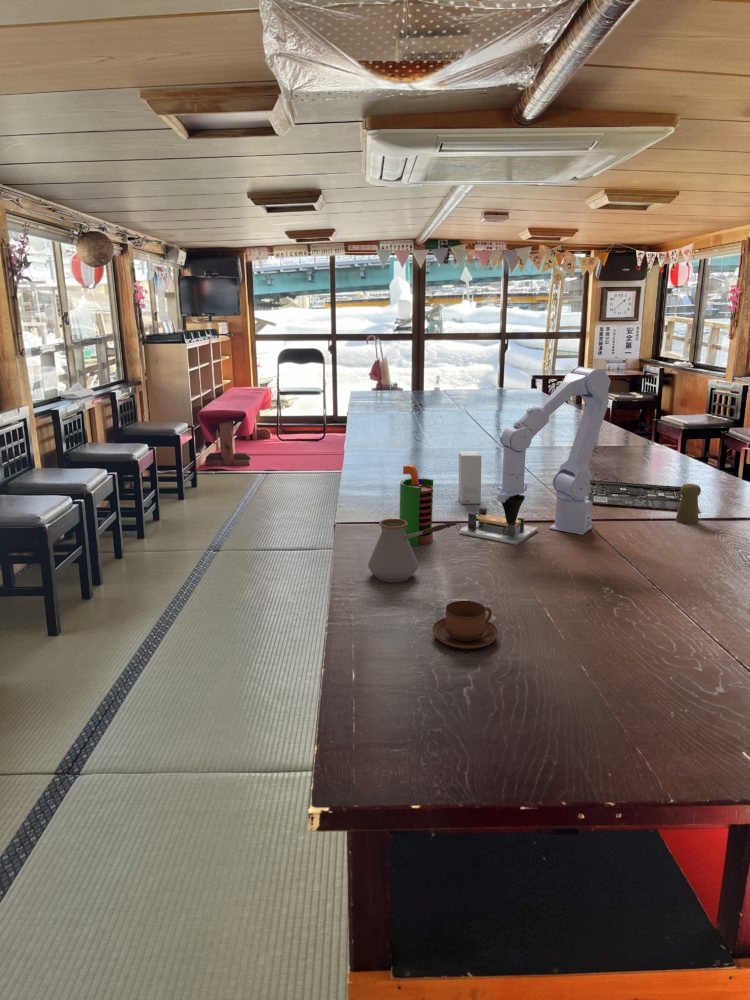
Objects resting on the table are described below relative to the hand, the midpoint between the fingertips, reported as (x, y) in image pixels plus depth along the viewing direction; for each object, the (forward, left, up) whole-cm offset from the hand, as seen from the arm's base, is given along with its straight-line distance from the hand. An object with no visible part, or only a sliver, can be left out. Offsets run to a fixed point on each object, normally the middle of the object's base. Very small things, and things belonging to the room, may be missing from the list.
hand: (511, 521), depth 184 cm
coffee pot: (+5, +42, -4) cm, 42 cm away
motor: (+19, +18, -4) cm, 26 cm away
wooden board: (+4, 0, -1) cm, 4 cm away
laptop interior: (-18, -58, -4) cm, 61 cm away
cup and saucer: (-18, +61, -4) cm, 64 cm away
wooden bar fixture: (+3, 0, -4) cm, 5 cm away
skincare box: (+25, -24, -4) cm, 35 cm away
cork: (-37, -39, -4) cm, 54 cm away
